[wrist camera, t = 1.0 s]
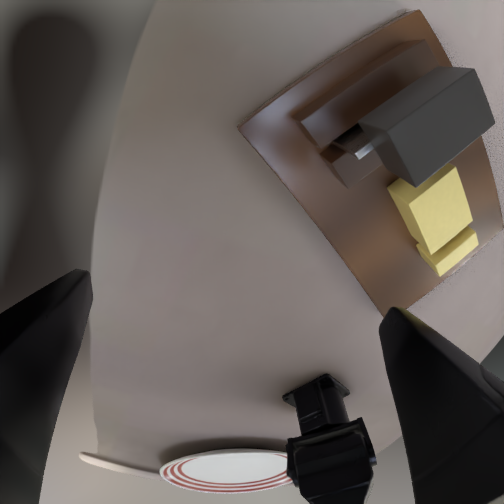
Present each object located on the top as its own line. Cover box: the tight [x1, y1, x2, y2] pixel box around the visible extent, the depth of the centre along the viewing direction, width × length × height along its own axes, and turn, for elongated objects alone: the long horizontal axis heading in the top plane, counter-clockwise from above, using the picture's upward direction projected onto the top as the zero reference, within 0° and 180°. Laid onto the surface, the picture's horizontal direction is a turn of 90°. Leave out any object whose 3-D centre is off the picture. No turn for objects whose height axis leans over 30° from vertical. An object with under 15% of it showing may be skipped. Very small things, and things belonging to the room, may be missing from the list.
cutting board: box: [237, 9, 504, 317], centre depth 20 cm, size 22×16×4 cm
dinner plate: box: [160, 448, 293, 493], centre depth 45 cm, size 28×27×3 cm
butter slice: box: [416, 225, 479, 277], centre depth 21 cm, size 2×4×3 cm, turn 129°
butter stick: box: [387, 163, 473, 255], centre depth 19 cm, size 5×4×3 cm
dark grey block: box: [331, 66, 495, 188], centre depth 14 cm, size 3×8×8 cm, turn 129°
